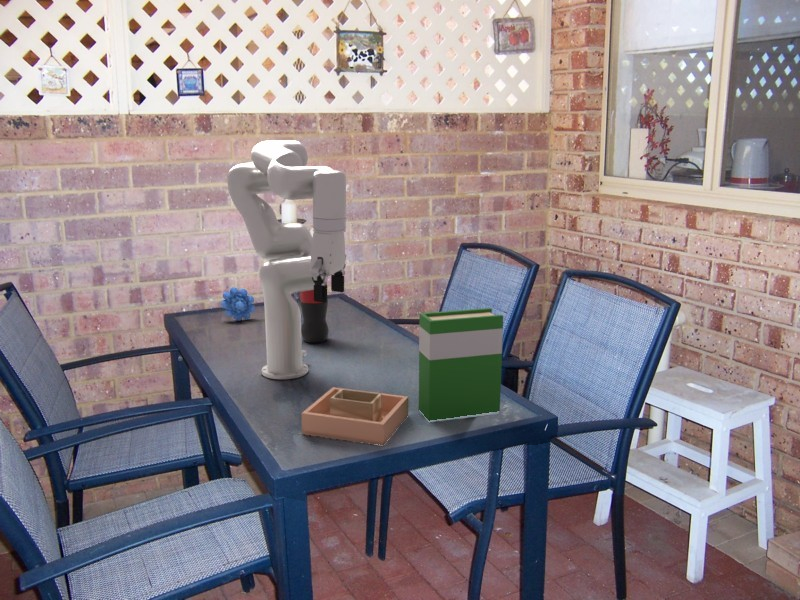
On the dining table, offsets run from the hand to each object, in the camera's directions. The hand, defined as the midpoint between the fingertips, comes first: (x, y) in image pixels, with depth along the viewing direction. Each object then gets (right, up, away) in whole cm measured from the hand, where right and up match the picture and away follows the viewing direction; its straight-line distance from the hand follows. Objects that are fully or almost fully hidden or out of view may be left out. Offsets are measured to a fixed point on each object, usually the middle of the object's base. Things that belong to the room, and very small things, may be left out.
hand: (329, 296), depth 173 cm
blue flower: (-38, -8, +79) cm, 88 cm away
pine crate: (+7, -28, -7) cm, 30 cm away
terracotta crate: (+7, -29, -7) cm, 31 cm away
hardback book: (+31, -28, +1) cm, 41 cm away
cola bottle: (-10, -14, +57) cm, 59 cm away
